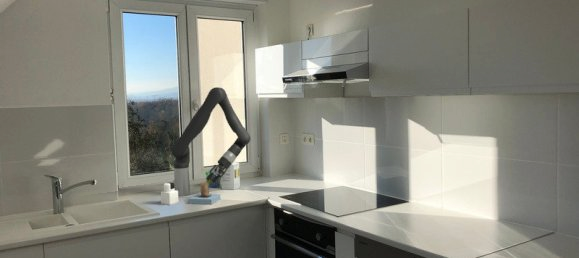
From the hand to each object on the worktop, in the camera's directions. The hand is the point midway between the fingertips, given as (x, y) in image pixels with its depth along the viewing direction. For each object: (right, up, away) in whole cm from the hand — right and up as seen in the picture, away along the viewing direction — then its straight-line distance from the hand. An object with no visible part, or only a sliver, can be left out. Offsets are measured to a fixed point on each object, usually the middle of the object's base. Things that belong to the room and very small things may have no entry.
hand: (209, 180), depth 290 cm
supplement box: (+8, -9, +36) cm, 39 cm away
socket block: (-3, -12, -1) cm, 12 cm away
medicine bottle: (-23, -13, -3) cm, 26 cm away
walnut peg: (-3, -12, -1) cm, 12 cm away
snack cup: (-4, -9, +45) cm, 46 cm away
